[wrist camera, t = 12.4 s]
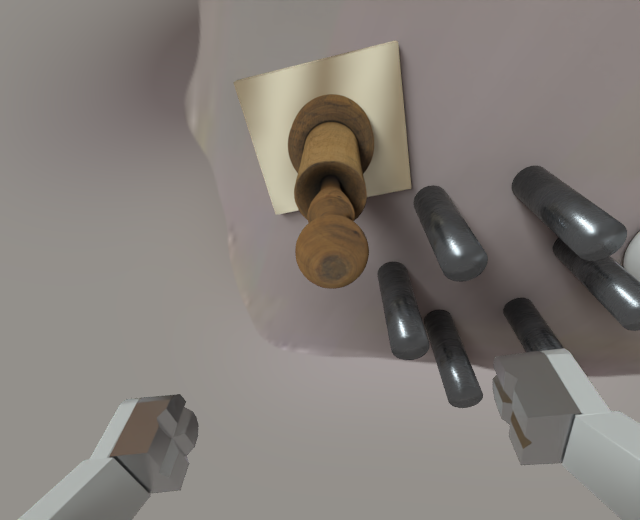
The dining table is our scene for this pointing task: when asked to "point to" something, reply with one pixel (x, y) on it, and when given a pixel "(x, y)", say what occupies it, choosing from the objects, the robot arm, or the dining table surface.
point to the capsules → (470, 260)
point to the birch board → (322, 79)
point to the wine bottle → (633, 257)
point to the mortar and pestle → (331, 188)
